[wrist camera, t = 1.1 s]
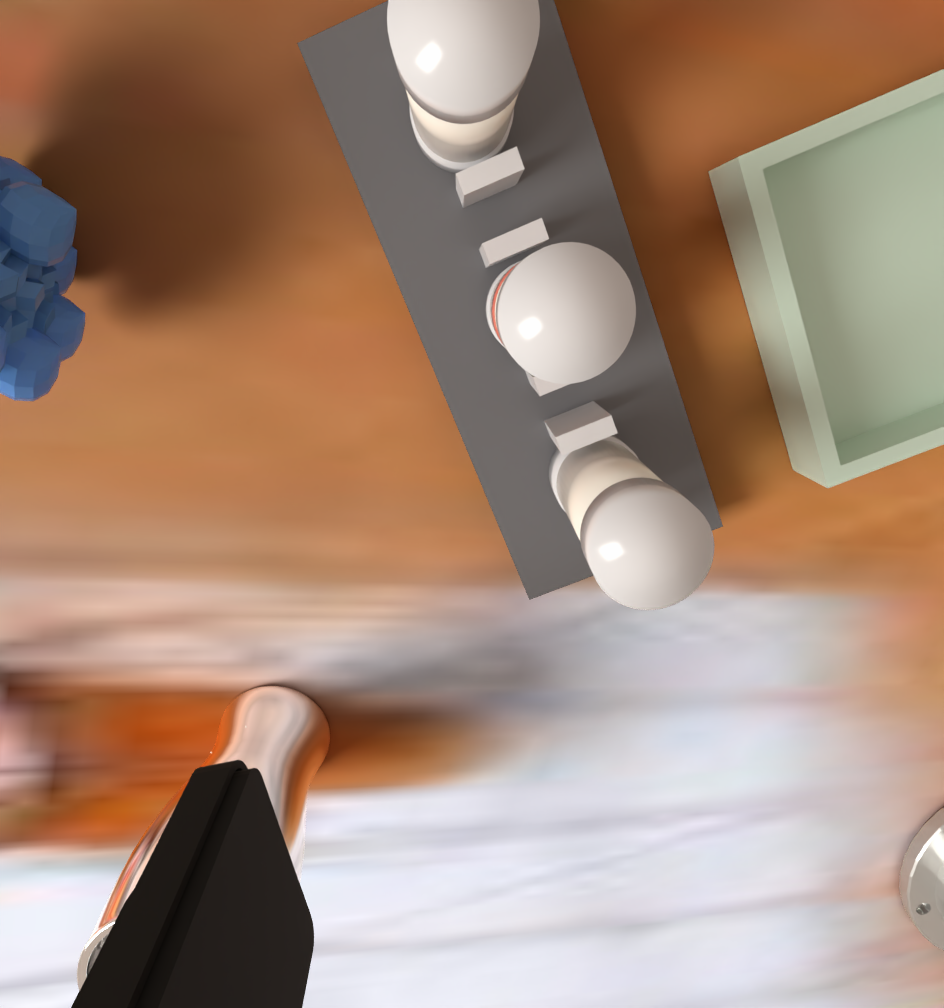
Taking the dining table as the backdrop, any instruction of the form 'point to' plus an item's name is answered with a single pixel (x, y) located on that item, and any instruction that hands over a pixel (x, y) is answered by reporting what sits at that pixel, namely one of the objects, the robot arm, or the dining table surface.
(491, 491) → the fuse holder
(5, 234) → the grapes
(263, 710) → the beer glass
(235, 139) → the dining table surface
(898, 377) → the tray
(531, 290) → the cylinder
